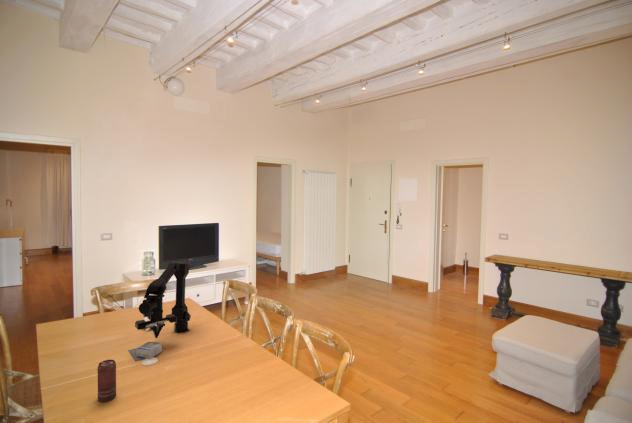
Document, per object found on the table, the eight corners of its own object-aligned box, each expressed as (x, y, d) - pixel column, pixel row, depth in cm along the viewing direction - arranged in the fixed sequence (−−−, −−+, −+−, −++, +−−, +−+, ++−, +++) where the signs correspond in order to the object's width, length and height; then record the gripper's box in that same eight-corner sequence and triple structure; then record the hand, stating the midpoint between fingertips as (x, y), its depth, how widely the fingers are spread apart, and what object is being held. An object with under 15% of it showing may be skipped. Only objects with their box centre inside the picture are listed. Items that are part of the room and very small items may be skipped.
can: (102, 393, 139) (102, 359, 138) (118, 393, 139) (118, 358, 138) (93, 402, 133) (93, 366, 132) (111, 402, 133) (111, 366, 132)
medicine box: (162, 342, 175) (150, 349, 166) (162, 351, 175) (150, 358, 166) (148, 341, 177) (136, 348, 168) (148, 350, 177) (136, 357, 168)
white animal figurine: (148, 317, 199) (134, 315, 204) (149, 332, 199) (135, 329, 204) (157, 314, 204) (144, 312, 210) (158, 328, 204) (145, 326, 210)
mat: (149, 345, 182) (149, 344, 182) (157, 355, 172) (157, 354, 172) (128, 350, 176) (128, 350, 176) (135, 361, 165) (135, 360, 165)
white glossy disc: (155, 358, 170) (155, 355, 169) (159, 363, 164) (159, 361, 164) (139, 362, 165) (139, 360, 165) (143, 368, 160) (143, 366, 160)
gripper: (170, 300, 189) (169, 328, 190) (132, 307, 177) (132, 337, 178) (177, 305, 181) (177, 335, 181) (137, 313, 168) (137, 344, 169)
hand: (156, 337), depth 178 cm, fingers closed
